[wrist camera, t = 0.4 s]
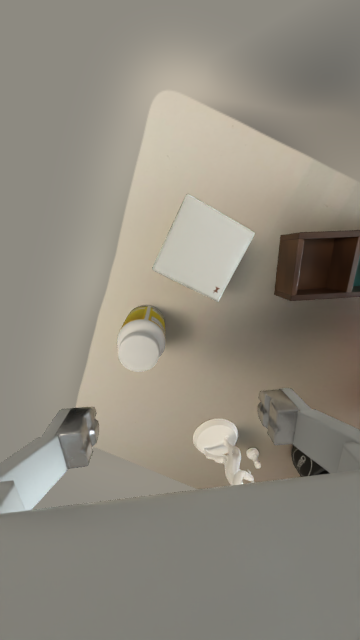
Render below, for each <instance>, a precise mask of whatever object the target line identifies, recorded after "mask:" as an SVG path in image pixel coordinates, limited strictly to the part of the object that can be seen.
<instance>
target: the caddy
mask: <svg viewBox="0 0 360 640" xmlns="http://www.w3.org/2000/svg"><path fill="white" fill-rule="evenodd" d="M274 295H276V296H279V297H282V298H284V299H287V300H290V301H298V300H315V299H332V298H348V297H360V230H352V231H326V232H300V233H293V234H286V235H281V236H280V246H279V255H278V265H277V274H276V284H275V293H274Z"/></svg>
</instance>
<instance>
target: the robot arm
mask: <svg viewBox="0 0 360 640" xmlns="http://www.w3.org/2000/svg"><path fill="white" fill-rule="evenodd" d="M258 398H259V400H260V401H261V402H260V403H259V405H258V416H259V419H260V421H261V423H262V425H263V426H264V427H266V428H267V429H268V431H267V433H268V435H269V437H270V438H271V440H272V442H273V443H274V445H285V444H293V445H294V446H295V447H296V448H298V449H299V450H300V451H302V452H303V453H304V454H306V455H307V456H308V457H310V458H311V459H312V460H313V461H315V462H316V463H317V464H319V465H320V466H321V467H323V468H324V469H325V470H327V471H328V472H329V473H330V474H322V475H314V476H306V477H298V478H289V479H281V480H273V481H265V482H256V483H248V484H240V485H232V486H223V487H215V488H207V489H199V490H190V491H182V492H174V493H166V494H158V495H149V496H141V497H133V498H125V499H117V500H108V501H100V502H92V503H84V504H76V505H68V506H59V507H51V508H43V509H35V510H32V508H33V507H34V506H35V505H36V504H37V503H38V502H39V501H40V500H41V499H42V498H43V496H44V495H45V494H46V493H47V492H48V491H49V490H50V489H51V488H52V487H53V486H54V484H55V483H56V482H57V481H58V480H59V479H60V478H61V477H62V476H63V475H64V474H65V472H66V471H67V470H68V469H70V468H78V467H85V466H88V465H89V462H90V459H91V456H92V453H93V449H92V447H93V446H94V445H95V444H96V443H97V440H98V436H99V423H98V421H97V420H96V419H95V416H96V414H97V413H96V409H95V407H82V408H70V409H61V410H60V411H59V412H58V413H57V415H56V416H55V417H54V419H53V420H52V422H51V424H50V425H49V426H48V428H47V429H46V431H45V432H44V434H43V435H42V437H38V438H36V439H35V440H33V441H32V442H30V443H29V444H28V445H26V446H25V447H23V448H22V449H20V450H19V451H17V452H16V453H14V454H13V455H12V456H10V457H9V458H7V459H6V460H4V461H3V462H1V463H0V640H360V430H359V429H357V428H355V427H353V426H350V425H348V424H346V423H344V422H342V421H339V420H337V419H335V418H333V417H331V416H329V415H326V414H324V413H322V412H320V411H318V410H316V409H314V410H312V409H311V408H310V407H309V406H308V405H307V404H306V403H305V402H304V401H303V400H302V399H301V398H300V397H299V396H298V395H297V394H296V393H295V392H294V391H293V390H292V389H291V388H282V389H276V390H266V391H260V392H259V397H258Z"/></svg>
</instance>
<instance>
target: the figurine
mask: <svg viewBox="0 0 360 640" xmlns="http://www.w3.org/2000/svg"><path fill="white" fill-rule="evenodd" d="M237 438H238V430H237V428H236V426H235V425H234V424H233V423H232V422H230V421H228V420H225V419H211V420H208V421H206V422H204V423H202V424H201V425H200V426H199V427H198V428H197V429H196V431H195V432H194V435H193V443H194V445H195V447H196V448H197V449H198V450H199V451H200V452H202V453H203V454H205V455H206V457H207V459H212V460H215V461H216V462H219V463H224V466H225V475H226V478H227V479H228V481H229V482H230V484H231V486H232V485H240V484H243V481H242V479H245V480H248V481H252V483H255V482H254V478H253V476H252V475H251V472H250V471H249V470H248V473H247V472H246V471H244V470H240V468H239V466H240V461H241V452H240V449H239V448H238V447H236V446H235V444H236V441H237ZM226 453H228V456H225V455H223V454H226ZM232 453H233V454H232Z"/></svg>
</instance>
